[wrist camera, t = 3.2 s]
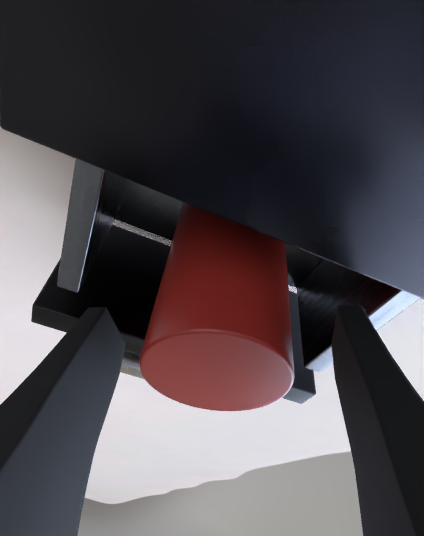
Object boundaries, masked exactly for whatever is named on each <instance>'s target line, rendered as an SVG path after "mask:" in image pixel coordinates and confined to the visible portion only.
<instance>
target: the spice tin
mask: <svg viewBox="0 0 424 536" xmlns="http://www.w3.org/2000/svg"><path fill="white" fill-rule="evenodd" d="M139 365H140V370H141V373H142V375H143V377H144V378H145V380H146V381H147V382H148V383H149V384H150V385H151V386H152V387H153V388H154V389H155V390H157V391H158V392H160V393H161V394H163V395H165V396H166V397H168V398H171V399H173V400H175V401H178V402H180V403H183V404H186V405H189V406H193V407H197V408H203V409H209V410H218V411H242V410H250V409H255V408H260V407H263V406H266V405H269V404H272V403H274V402H276V401H278V400H279V399H281V398H282V397H283V396H285V395H286V394H287V393H288V391H289V390H290V389H291V387H292V385H293V382H294V377H295V376H294V362H293V347H292V333H291V319H290V304H289V290H288V275H287V261H286V247H285V243H284V242H281V241H279V240H276V239H274V238H271V237H269V236H266V235H264V234H261V233H259V232H256V231H254V230H252V229H249V228H247V227H244V226H242V225H239V224H237V223H234V222H232V221H229V220H227V219H224V218H222V217H219V216H217V215H214V214H212V213H209V212H207V211H205V210H202V209H200V208H197V207H195V206H192V205H190V204H187V203H185V202H183V205H182V208H181V212H180V216H179V219H178V223H177V226H176V230H175V233H174V237H173V240H172V244H171V248H170V251H169V255H168V258H167V262H166V265H165V269H164V272H163V276H162V280H161V283H160V287H159V290H158V294H157V297H156V301H155V304H154V308H153V312H152V315H151V319H150V322H149V326H148V329H147V333H146V336H145V340H144V344H143V347H142V351H141V354H140V359H139Z"/></svg>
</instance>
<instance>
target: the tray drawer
mask: <svg viewBox="0 0 424 536" xmlns="http://www.w3.org/2000/svg"><path fill="white" fill-rule="evenodd" d="M182 205H183V202H182V201H180V200H177V199H175V198H172V197H170V196H167V195H165V194H162V193H160V192H158V191H155V190H153V189H150V188H148V187H145V186H143V185H140V184H138V183H135V182H133V181H130V180H128V179H125V178H123V177H120V176H118V175H115V174H113V173H111V172H108V171H106V170H103V169H101V168H98V167H96V166H93V165H91V164H88V163H86V162H83V161H81V160H78V159H76V161H75V168H74V174H73V181H72V188H71V194H70V201H69V208H68V214H67V221H66V228H65V234H64V241H63V248H62V254H61V258H60V260H59V262H58V263H57V265H56V267H55V268H54V270H53V272H52V273H51V275H50V277H49V278H48V280H47V282H46V284H45V285H44V287H43V289H42V290H41V292H40V294H39V295H38V297H37V299H36V300H35V302H34V304H33V308H32V322H34V323H37V324H40V325H44V326H47V327H50V328H54V329H57V330H60V331H64V332H68V331H69V330H70V329H71V328H72V326H73V325H74V324H75V323H76V322H77V321H78V319H79V318H80V317H81V316H82V315H83V314H84V312H85V311H86V310H87V309H88V308H89V307H106V308H107V310H108V312H109V313H110V315H111V317H112V319H113V321H114V323H115V325H116V327H117V329H118V331H119V333H120V334H121V336H122V338H123V340H124V342H125V348H124V354H123V360H122V364H121V369H120V372H122V373H125V374H129V375H132V376H136V377H139V378H143V379H145V378H144V377H143V375H142V373H141V370H140V365H139V359H140V354H141V351H142V347H143V344H144V340H145V336H146V333H147V329H148V326H149V322H150V319H151V315H152V312H153V308H154V304H155V301H156V297H157V294H158V290H159V287H160V283H161V280H162V276H163V272H164V269H165V265H166V262H167V258H168V255H169V251H170V248H171V246H168V245H165V244H163V243H160V242H157V241H155V240H152V239H149V238H147V237H144V236H141V235H139V234H136V233H133V232H131V231H128V230H125V229H123V228H120V227H117V226H115V225H112V224H113V222H114V220H115V219H117V220H119V221H122V222H124V223H127V224H130V225H132V226H135V227H138V228H140V229H143V230H146V231H148V232H151V233H154V234H156V235H159V236H161V237H164V238H167V239H169V240H173V237H174V233H175V230H176V226H177V223H178V219H179V216H180V212H181V208H182ZM285 247H286V261H287V275H288V285H291V286H294V287H296V288H297V294H296V293H293V292H291V291H289V304H290V319H291V333H292V347H293V362H294V376H295V377H294V382H293V385H292V387H291V389H290V390H289V391H288V393H287V394H286V395H285V396H283V397H282V398H284V399H287V400H291V401H294V402H297V403H300V404H302V403H304V402H305V401H307V400H308V399H310V398H311V397H312V396H314V395H315V394H316V390H315V381H314V372H313V370H314V371H317V372H321V371H323V370H324V369H325V368H327V367H328V366H329V365H331V364H332V363H333V355H332V346H331V345H332V339H333V333H334V327H335V321H336V315H337V309H338V305H361V306H362V307H364V309H365V311H366V313H367V315H368V317H369V319H370V321H371V323H372V324H373V326H374V328H375V330H378V329H379V328H380V327H382V326H383V325H384V324H386V323H387V322H388V321H390V320H391V319H392V318H394V317H395V316H396V315H398V314H399V313H400V312H402V311H403V310H404V309H406V308H407V307H408V306H410V305H411V304H412V303H414V302H415V301H416V300H418V299H419V298H420V297H417V296H415V295H412V294H410V293H407V292H405V291H402V290H400V289H397V288H395V287H393V286H390V285H388V284H385V283H383V282H380V281H378V280H375V279H373V278H370V277H368V276H365V275H363V274H360V273H358V272H355V271H353V270H350V269H348V268H346V267H343V266H341V265H338V264H336V263H333V262H331V261H328V260H326V259H323V258H321V257H318V256H316V255H313V254H311V253H308V252H306V251H303V250H301V249H299V248H296V247H294V246H291V245H289V244H286V243H285Z"/></svg>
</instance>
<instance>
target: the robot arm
mask: <svg viewBox="0 0 424 536" xmlns="http://www.w3.org/2000/svg"><path fill="white" fill-rule="evenodd" d="M331 346H332V355H333V365H334V373H335V380H336V385H337V389H338V394H339V398H340V403H341V407H342V412H343V416H344V421H345V425H346V429H347V434H348V438H349V443H350V447H351V452H352V457H353V462H354V467H355V473H356V482H357V489H358V497H359V504H360V512H361V519H362V520H361V521H362V527H363V536H424V401H423V400H422V398H421V397H420V396H419V394H418V393H417V392H416V390H415V389H414V388H413V386H412V385H411V383H410V382H409V381H408V379H407V378H406V376H405V375H404V373H403V372H402V370H401V369H400V367H399V366H398V364H397V363H396V362H395V360H394V359H393V357H392V356H391V354H390V352H389V351H388V349H387V348H386V346H385V344H384V343H383V341H382V340H381V338H380V336H379V335H378V333H377V331H376V330H375V328H374V326H373V324H372V323H371V321H370V319H369V317H368V315H367V313H366V311H365V309H364V307H362V306H361V305H338V309H337V315H336V321H335V327H334V333H333V339H332V345H331ZM124 348H125V342H124V340H123V338H122V336H121V334H120V333H119V331H118V329H117V327H116V325H115V323H114V321H113V319H112V317H111V315H110V313H109V312H108V310H107V308H106V307H89V308H88V309H87V310H86V311H85V312H84V314H83V315H82V316H81V317H80V318H79V319H78V321H77V322H76V323H75V324H74V325H73V326H72V328H71V329H70V330H69V331H68V332H67V333H66V335H65V336H64V337H63V338H62V339H61V340H60V342H59V343H58V344H57V345H56V346H55V347H54V348H53V350H52V351H51V352H50V353H49V354H48V355H47V356H46V357H45V359H44V360H43V361H42V362H41V363H40V364H39V365H38V366H37V368H36V369H35V370H34V371H33V372H32V373H31V374H30V375H29V376H28V377H27V378H26V379H25V380H24V381H23V382H22V383H21V384H20V386H19V387H18V388H17V389H16V390H15V391H14V392H13V393H12V394H11V395H10V396H9V397H8V398H7V399H6V400H5V401H4V402H3V403H2V404H1V405H0V536H77V534H78V528H79V522H80V516H81V511H82V507H83V502H84V497H85V492H86V487H87V482H88V478H89V473H90V469H91V464H92V460H93V456H94V452H95V448H96V445H97V441H98V438H99V435H100V432H101V429H102V426H103V423H104V420H105V417H106V414H107V411H108V408H109V405H110V402H111V399H112V396H113V393H114V389H115V386H116V383H117V380H118V377H119V374H120V369H121V364H122V360H123V354H124Z"/></svg>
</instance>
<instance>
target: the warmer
mask: <svg viewBox="0 0 424 536" xmlns="http://www.w3.org/2000/svg"><path fill="white" fill-rule="evenodd" d="M0 126H1V128H2V129H4V130H7V131H9V132H12V133H14V134H17V135H19V136H21V137H24V138H26V139H29V140H31V141H34V142H36V143H39V144H41V145H44V146H46V147H49V148H51V149H54V150H56V151H59V152H61V153H64V154H66V155H68V156H71V157H73V158H76V159H78V160H81V161H83V162H86V163H88V164H91V165H93V166H96V167H98V168H101V169H103V170H106V171H108V172H111V173H113V174H115V175H118V176H120V177H123V178H125V179H128V180H130V181H133V182H135V183H138V184H140V185H143V186H145V187H148V188H150V189H153V190H155V191H158V192H160V193H162V194H165V195H167V196H170V197H172V198H175V199H177V200H180V201H182V202H185V203H187V204H190V205H192V206H195V207H197V208H200V209H202V210H205V211H207V212H209V213H212V214H214V215H217V216H219V217H222V218H224V219H227V220H229V221H232V222H234V223H237V224H239V225H242V226H244V227H247V228H249V229H252V230H254V231H256V232H259V233H261V234H264V235H266V236H269V237H271V238H274V239H276V240H279V241H281V242H284V243H286V244H289V245H291V246H294V247H296V248H299V249H301V250H303V251H306V252H308V253H311V254H313V255H316V256H318V257H321V258H323V259H326V260H328V261H331V262H333V263H336V264H338V265H341V266H343V267H346V268H348V269H350V270H353V271H355V272H358V273H360V274H363V275H365V276H368V277H370V278H373V279H375V280H378V281H380V282H383V283H385V284H388V285H390V286H393V287H395V288H397V289H400V290H402V291H405V292H407V293H410V294H412V295H415V296H417V297H420V298H422V299H424V0H0Z"/></svg>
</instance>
